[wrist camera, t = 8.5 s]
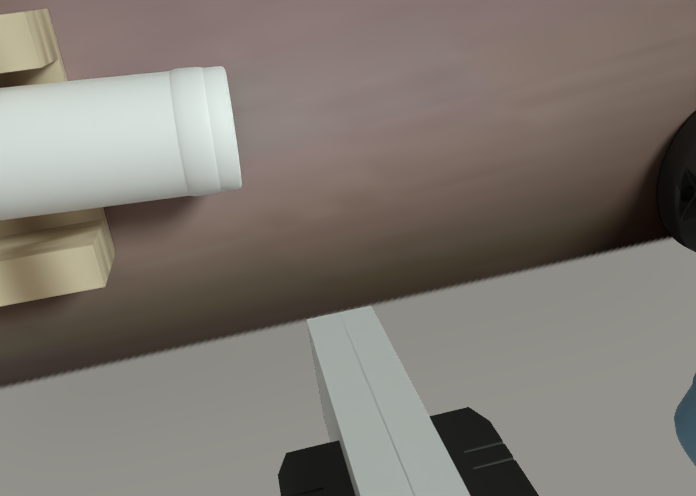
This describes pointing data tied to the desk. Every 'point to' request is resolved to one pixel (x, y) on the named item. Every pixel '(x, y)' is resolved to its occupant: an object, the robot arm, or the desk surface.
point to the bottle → (116, 141)
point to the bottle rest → (51, 229)
